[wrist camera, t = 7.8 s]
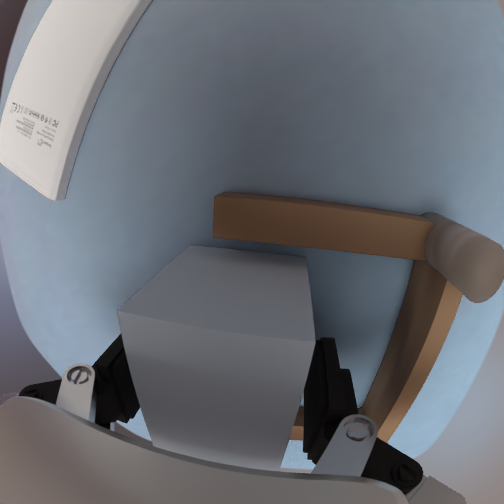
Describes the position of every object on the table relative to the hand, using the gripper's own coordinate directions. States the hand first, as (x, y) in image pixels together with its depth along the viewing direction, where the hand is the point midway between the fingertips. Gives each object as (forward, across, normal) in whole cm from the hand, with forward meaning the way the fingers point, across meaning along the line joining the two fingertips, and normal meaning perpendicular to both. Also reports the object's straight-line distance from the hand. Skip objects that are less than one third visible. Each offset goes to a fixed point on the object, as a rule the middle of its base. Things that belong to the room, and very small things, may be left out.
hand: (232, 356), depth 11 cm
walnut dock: (+2, -4, 0) cm, 4 cm away
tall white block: (+2, 0, 0) cm, 2 cm away
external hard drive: (+3, +11, -13) cm, 18 cm away
